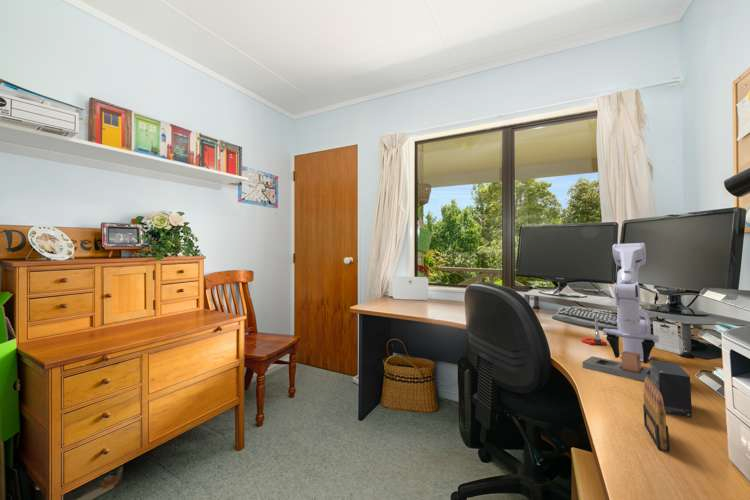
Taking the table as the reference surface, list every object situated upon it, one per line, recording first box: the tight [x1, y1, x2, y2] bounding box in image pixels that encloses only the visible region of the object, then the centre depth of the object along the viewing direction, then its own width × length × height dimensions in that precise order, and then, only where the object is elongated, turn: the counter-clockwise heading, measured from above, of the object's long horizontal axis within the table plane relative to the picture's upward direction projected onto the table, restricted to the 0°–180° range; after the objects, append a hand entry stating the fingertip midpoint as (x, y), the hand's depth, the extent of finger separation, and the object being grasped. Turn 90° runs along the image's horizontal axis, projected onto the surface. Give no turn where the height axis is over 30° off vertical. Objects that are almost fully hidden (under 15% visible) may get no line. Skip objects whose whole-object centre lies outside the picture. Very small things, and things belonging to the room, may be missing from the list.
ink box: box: [652, 320, 685, 355], centre depth 126 cm, size 3×9×12 cm, turn 13°
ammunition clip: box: [642, 376, 671, 453], centre depth 69 cm, size 11×2×12 cm, turn 151°
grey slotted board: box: [581, 356, 651, 383], centre depth 104 cm, size 9×26×2 cm, turn 37°
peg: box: [620, 351, 642, 372], centre depth 104 cm, size 4×4×7 cm
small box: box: [649, 359, 693, 419], centre depth 82 cm, size 11×6×10 cm, turn 148°
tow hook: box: [581, 315, 608, 346], centre depth 142 cm, size 8×13×9 cm
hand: (631, 359), depth 104 cm, fingers open, 7 cm apart
